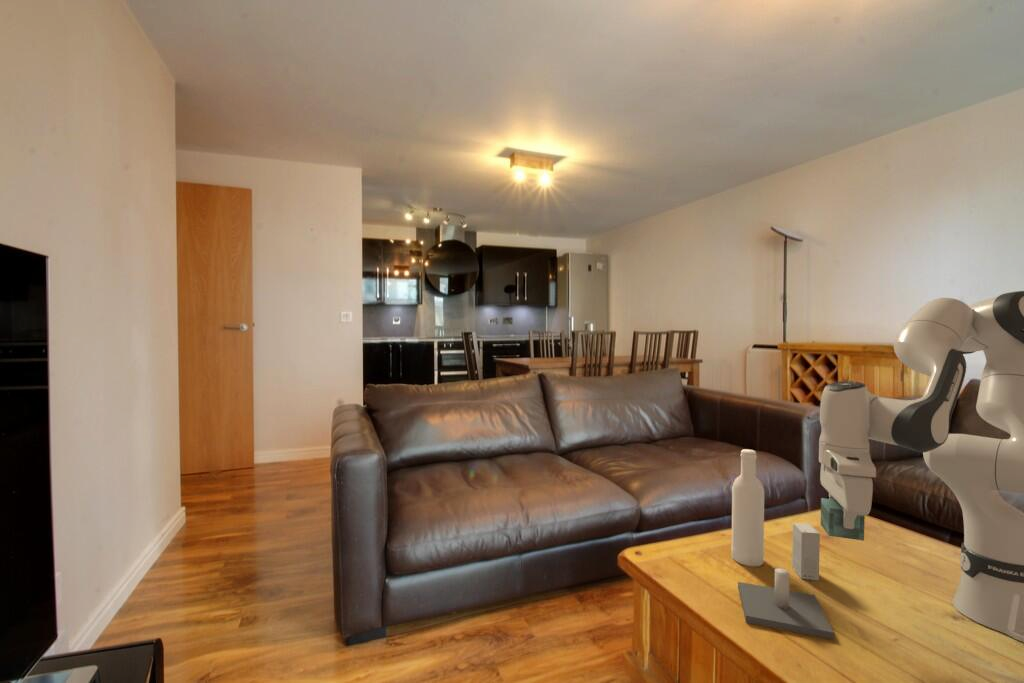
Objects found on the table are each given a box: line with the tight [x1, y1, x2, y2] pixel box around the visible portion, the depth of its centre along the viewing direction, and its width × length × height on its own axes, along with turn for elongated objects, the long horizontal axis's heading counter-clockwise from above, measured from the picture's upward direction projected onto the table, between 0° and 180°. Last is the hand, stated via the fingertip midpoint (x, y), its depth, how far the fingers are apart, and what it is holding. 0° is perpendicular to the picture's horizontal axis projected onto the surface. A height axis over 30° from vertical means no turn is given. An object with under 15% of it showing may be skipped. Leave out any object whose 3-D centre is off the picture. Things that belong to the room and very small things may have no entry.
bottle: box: [730, 448, 765, 567], centre depth 125 cm, size 8×8×30 cm
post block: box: [737, 567, 835, 641], centre depth 102 cm, size 16×14×9 cm
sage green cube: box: [820, 497, 866, 542], centre depth 99 cm, size 6×6×6 cm
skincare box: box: [791, 522, 821, 581], centre depth 117 cm, size 6×4×12 cm
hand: (841, 520), depth 99 cm, fingers closed on sage green cube, 6 cm apart
